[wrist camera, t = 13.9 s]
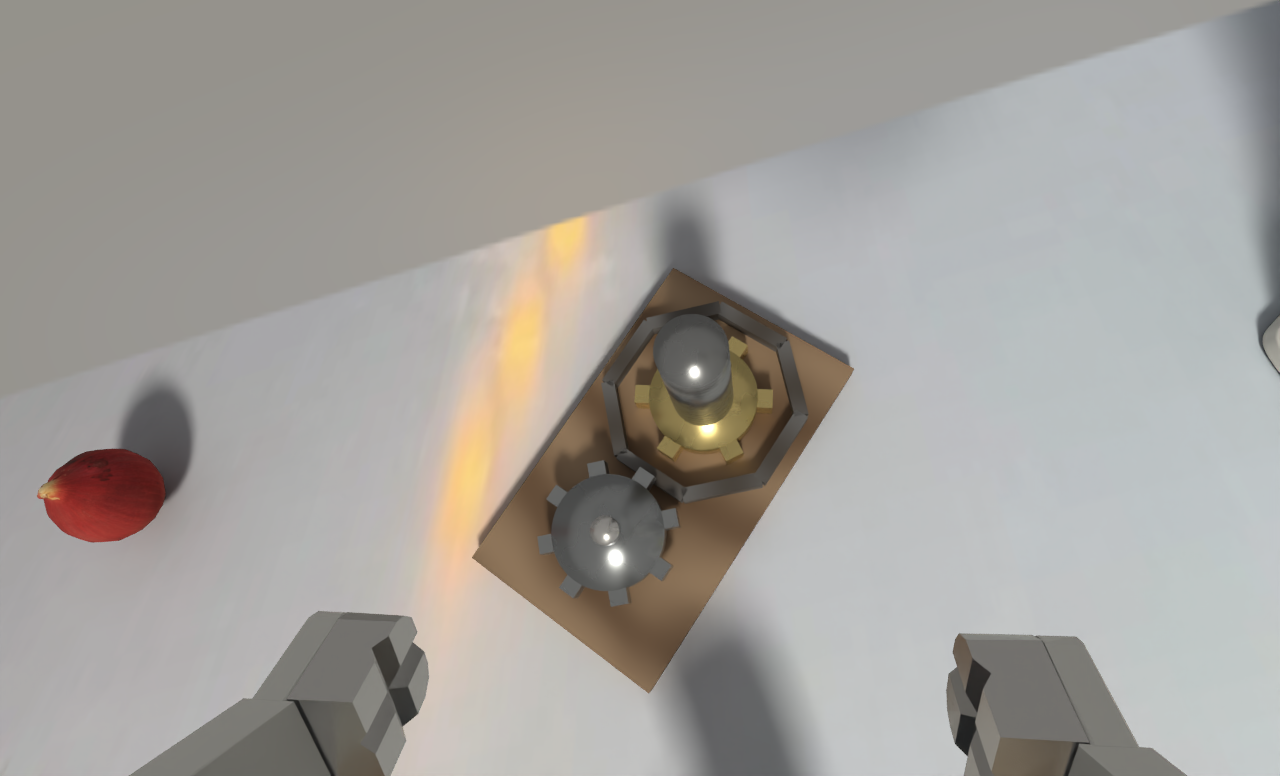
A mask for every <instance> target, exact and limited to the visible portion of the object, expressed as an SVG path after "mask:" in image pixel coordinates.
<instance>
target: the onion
mask: <svg viewBox="0 0 1280 776" xmlns="http://www.w3.org/2000/svg"><path fill="white" fill-rule="evenodd" d="M37 497H38V498H39V499H44V503H45V507H46V511H47V514H48V516H49V518H50V519H51V520H52V521H53V522H54V523H55V524H56V525H57V526H58V527H59V528H60V529H61V530H62V531H63V532H65V533H66V534H68V535H71V536H73V537H76V538H79V539H81V540H85V541H88V542H108V541H119V540H122V539H124V538H126V537H128V536H130V535H133V534H135V533H137V532H138V531H140V530H142V529H143V528H144V527H145V526H147V525H148V524H149V523H150V522H151V521H152V520H153V519H154V518H155V517H156V515H157V513H158V512H159V510H160V508H161V507H162V506H163V502H164V498H165V487H164V481H163V477H162V476H161V474H160V473H159V471H158V470H157V468H156V467H155V466H154V465H153V464H152V462H151V461H150V460H148V459H146V458H144V457H142V456H140V455H138V454H136V453H134V452H131V451H128V450H126V449H103V450H94V451H88V452H85V453H82V454H80V455H78V456H76V457H74V458H73V459H71V460H70V461H69V462H67V463H66V464H65V465H63V466H62V467H60V468H59V469H57V470H56V471H55V472H54V473H53V475H52V476H51V477H50V478H49V480H48V483H45V484H44V485H42V486H41V488H40V489H39V490H38V495H37Z"/></svg>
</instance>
